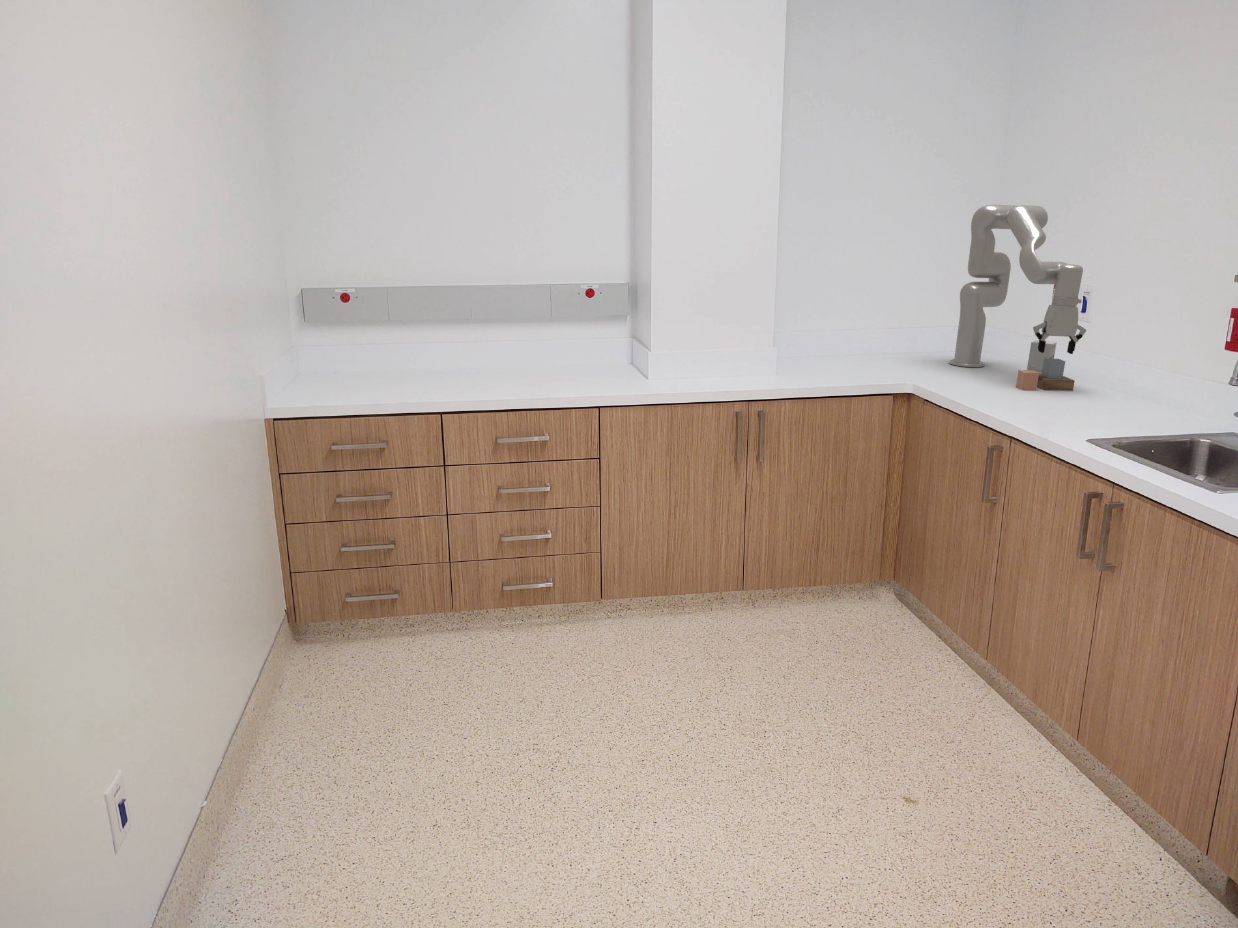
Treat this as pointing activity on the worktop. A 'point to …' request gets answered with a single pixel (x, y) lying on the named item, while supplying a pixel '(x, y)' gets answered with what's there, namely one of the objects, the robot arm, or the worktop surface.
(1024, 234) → the robot arm
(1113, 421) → the worktop surface
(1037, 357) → the supplement box
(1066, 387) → the walnut base
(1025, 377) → the terracotta block
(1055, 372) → the grey block
